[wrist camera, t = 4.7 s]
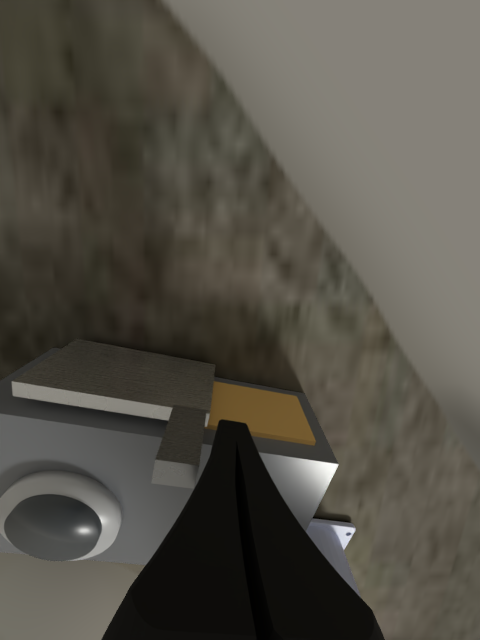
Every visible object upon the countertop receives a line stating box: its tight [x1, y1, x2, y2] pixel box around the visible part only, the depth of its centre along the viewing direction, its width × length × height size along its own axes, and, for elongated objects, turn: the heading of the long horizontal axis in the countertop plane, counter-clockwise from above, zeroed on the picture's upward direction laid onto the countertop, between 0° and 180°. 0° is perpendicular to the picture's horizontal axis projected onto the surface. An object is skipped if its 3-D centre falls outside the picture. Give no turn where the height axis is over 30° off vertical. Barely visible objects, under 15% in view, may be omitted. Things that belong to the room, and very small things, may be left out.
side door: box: [12, 339, 215, 489], centre depth 12 cm, size 1×9×8 cm, turn 76°
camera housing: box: [0, 348, 339, 565], centre depth 15 cm, size 10×18×7 cm, turn 77°
